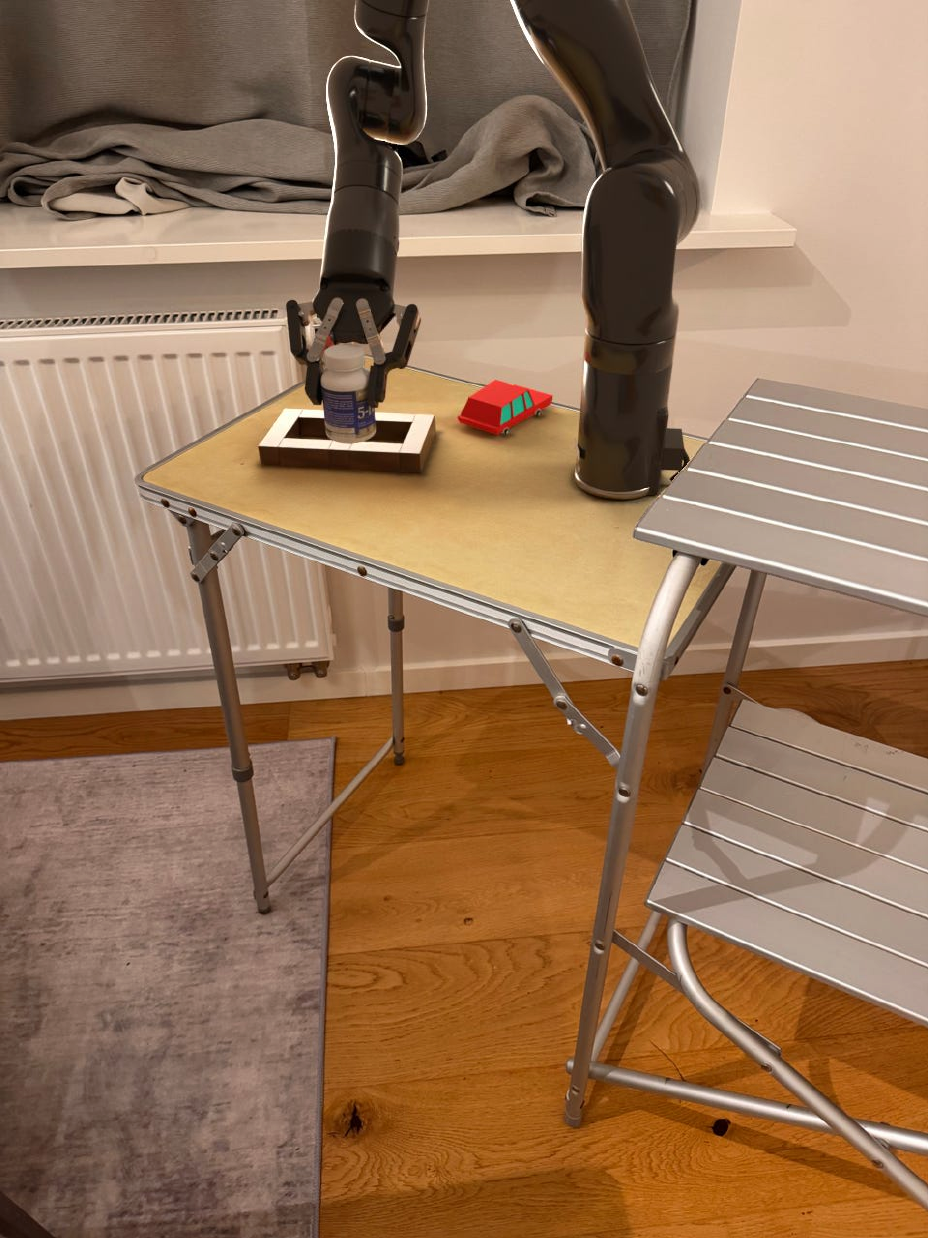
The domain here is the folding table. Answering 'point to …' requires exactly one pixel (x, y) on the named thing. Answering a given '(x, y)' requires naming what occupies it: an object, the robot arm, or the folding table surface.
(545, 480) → the folding table surface
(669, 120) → the robot arm
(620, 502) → the folding table surface
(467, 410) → the toy car
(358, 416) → the pill bottle
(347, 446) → the peg board
